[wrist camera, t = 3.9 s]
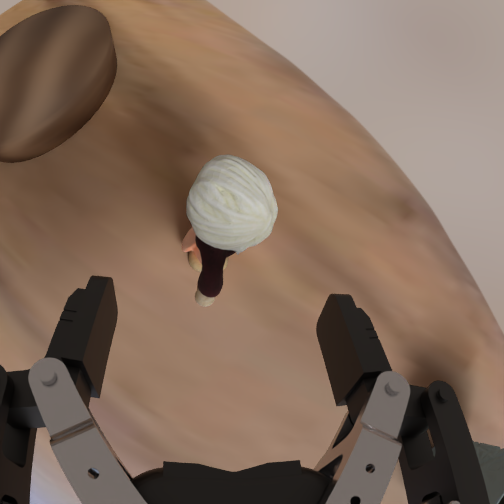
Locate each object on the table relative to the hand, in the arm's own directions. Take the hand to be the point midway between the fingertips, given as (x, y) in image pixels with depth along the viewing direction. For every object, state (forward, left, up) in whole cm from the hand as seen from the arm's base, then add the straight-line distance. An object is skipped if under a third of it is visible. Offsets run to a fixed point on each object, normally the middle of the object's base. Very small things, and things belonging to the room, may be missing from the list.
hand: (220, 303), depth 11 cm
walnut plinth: (-18, +18, -10) cm, 27 cm away
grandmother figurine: (0, +4, -11) cm, 11 cm away
